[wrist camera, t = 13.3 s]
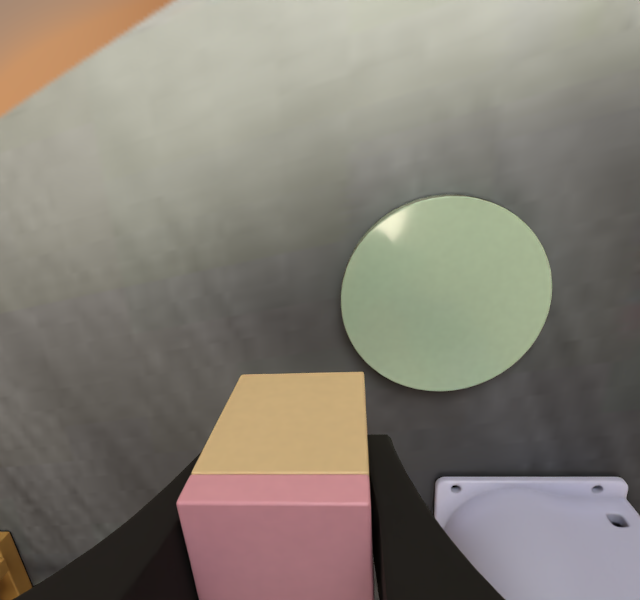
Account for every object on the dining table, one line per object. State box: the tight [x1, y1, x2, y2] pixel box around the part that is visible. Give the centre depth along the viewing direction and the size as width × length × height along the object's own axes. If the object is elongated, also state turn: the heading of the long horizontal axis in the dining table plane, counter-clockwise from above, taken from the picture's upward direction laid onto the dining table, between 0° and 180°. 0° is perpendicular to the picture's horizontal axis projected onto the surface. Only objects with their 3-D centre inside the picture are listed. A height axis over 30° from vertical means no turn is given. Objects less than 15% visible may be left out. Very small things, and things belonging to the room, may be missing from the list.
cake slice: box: [176, 372, 374, 600], centre depth 11 cm, size 4×4×5 cm
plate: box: [341, 195, 552, 391], centre depth 18 cm, size 9×9×1 cm
